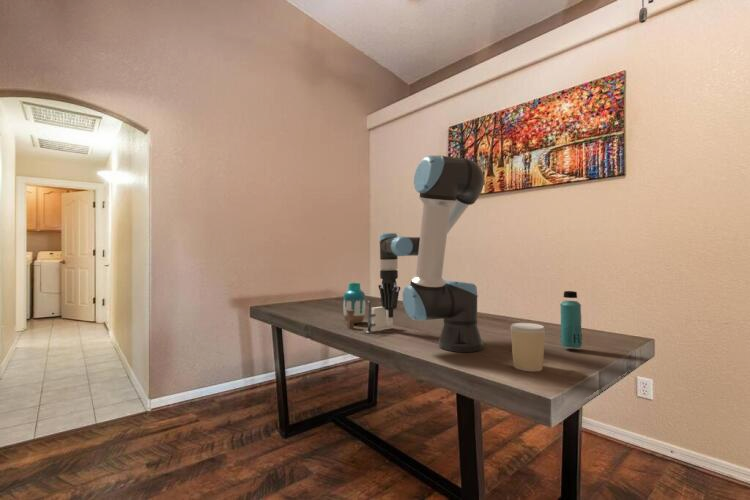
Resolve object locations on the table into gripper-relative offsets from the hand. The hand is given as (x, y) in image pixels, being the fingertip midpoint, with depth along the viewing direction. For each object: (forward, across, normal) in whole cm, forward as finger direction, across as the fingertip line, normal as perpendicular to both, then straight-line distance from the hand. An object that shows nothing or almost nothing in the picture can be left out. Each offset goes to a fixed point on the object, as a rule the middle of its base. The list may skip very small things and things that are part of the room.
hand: (389, 324), depth 154 cm
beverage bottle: (+3, -59, -33) cm, 68 cm away
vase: (+3, +24, +3) cm, 25 cm away
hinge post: (+3, +3, +8) cm, 9 cm away
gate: (+2, +4, +1) cm, 5 cm away
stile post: (+3, +15, +10) cm, 19 cm away
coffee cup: (+3, -62, -4) cm, 62 cm away
